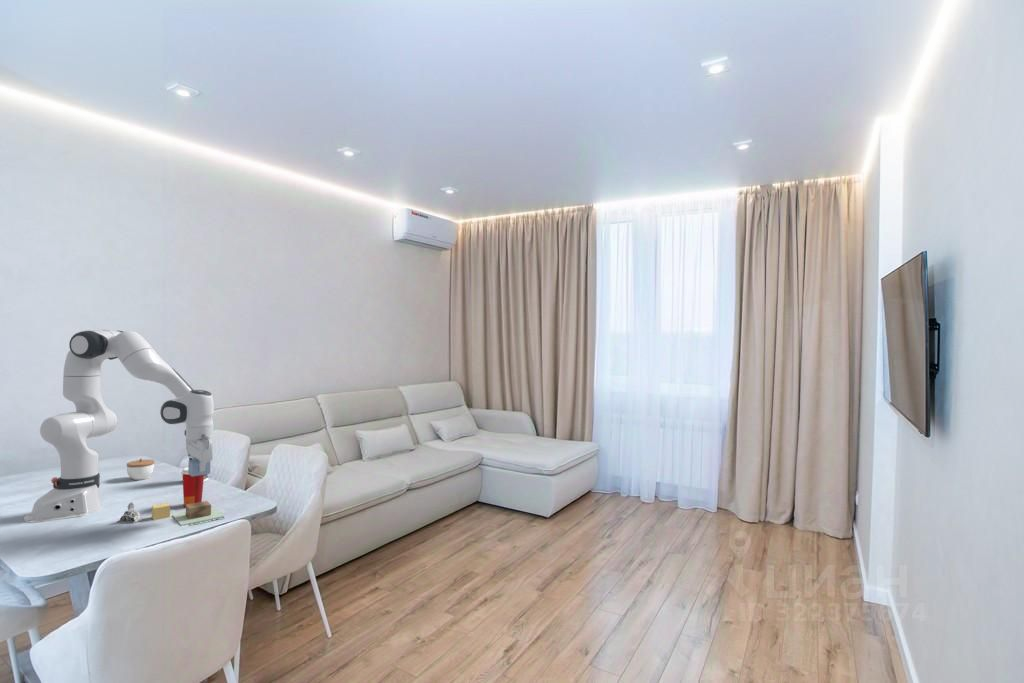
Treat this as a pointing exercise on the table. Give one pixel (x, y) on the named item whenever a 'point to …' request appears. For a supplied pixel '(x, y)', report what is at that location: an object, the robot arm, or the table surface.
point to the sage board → (184, 520)
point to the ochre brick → (160, 511)
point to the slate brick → (197, 468)
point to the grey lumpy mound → (130, 515)
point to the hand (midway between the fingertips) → (199, 469)
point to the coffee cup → (192, 487)
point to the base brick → (198, 510)
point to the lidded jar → (140, 469)
